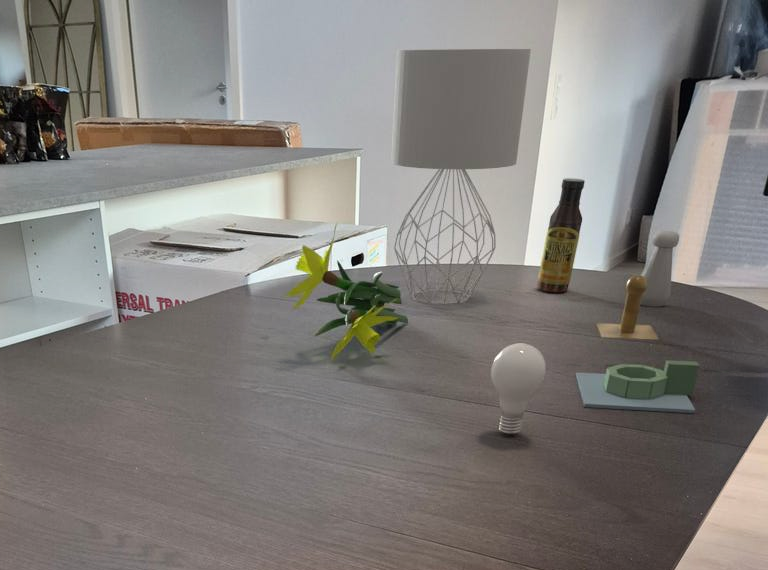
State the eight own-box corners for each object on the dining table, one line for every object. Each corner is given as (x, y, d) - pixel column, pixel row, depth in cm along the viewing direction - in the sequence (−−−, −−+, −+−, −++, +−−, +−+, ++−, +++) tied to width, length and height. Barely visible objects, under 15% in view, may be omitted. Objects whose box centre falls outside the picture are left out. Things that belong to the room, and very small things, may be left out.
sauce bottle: (534, 292, 169) (551, 180, 158) (538, 286, 174) (555, 176, 163) (568, 295, 167) (587, 181, 156) (571, 288, 172) (590, 177, 161)
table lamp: (519, 307, 160) (555, 48, 137) (407, 315, 155) (426, 49, 132) (469, 282, 177) (494, 50, 155) (368, 288, 173) (379, 50, 150)
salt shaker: (662, 313, 155) (680, 235, 148) (630, 309, 157) (647, 232, 150) (670, 306, 159) (688, 230, 152) (638, 302, 162) (655, 228, 154)
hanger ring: (685, 384, 119) (693, 355, 117) (696, 401, 113) (704, 371, 111) (601, 380, 121) (607, 351, 119) (607, 397, 115) (614, 367, 113)
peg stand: (649, 330, 145) (663, 270, 140) (658, 344, 138) (672, 281, 133) (595, 327, 147) (606, 268, 141) (600, 341, 140) (612, 279, 134)
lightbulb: (537, 445, 102) (552, 352, 96) (483, 442, 103) (495, 350, 97) (533, 426, 107) (548, 338, 101) (482, 424, 108) (493, 336, 102)
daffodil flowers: (449, 333, 147) (387, 323, 117) (376, 372, 154) (299, 371, 124) (412, 240, 146) (340, 205, 115) (340, 283, 153) (254, 261, 122)
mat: (675, 380, 122) (676, 377, 122) (694, 413, 111) (695, 409, 111) (575, 375, 125) (576, 372, 124) (584, 407, 113) (584, 403, 113)
